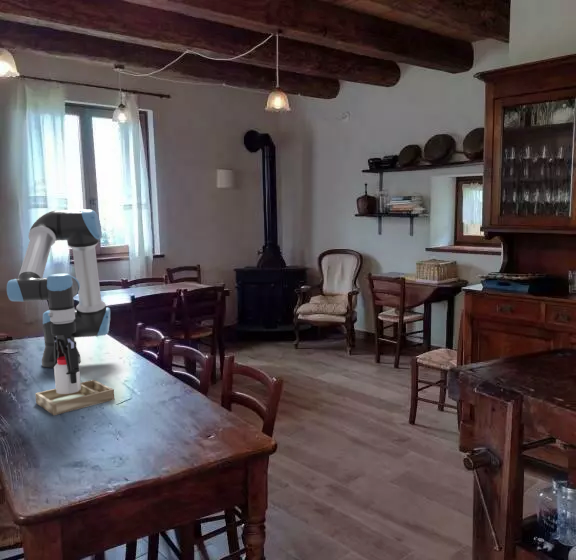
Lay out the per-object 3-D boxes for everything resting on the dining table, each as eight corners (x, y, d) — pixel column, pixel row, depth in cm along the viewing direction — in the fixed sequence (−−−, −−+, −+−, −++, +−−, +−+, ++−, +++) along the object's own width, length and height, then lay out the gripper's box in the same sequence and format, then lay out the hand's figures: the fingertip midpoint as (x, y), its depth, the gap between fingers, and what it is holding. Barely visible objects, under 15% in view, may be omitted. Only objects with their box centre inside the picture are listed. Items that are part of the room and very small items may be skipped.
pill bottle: (50, 392, 185) (47, 359, 184) (69, 385, 192) (67, 353, 190) (67, 395, 181) (64, 362, 180) (86, 388, 188) (83, 356, 187)
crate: (36, 403, 188) (35, 393, 187) (94, 389, 201) (93, 379, 200) (53, 415, 176) (52, 404, 175) (114, 399, 189) (113, 389, 189)
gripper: (39, 319, 189) (45, 385, 192) (63, 327, 173) (69, 399, 176) (62, 315, 194) (67, 380, 197) (87, 323, 178) (92, 393, 181)
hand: (68, 389), depth 186 cm, fingers closed on pill bottle, 8 cm apart
